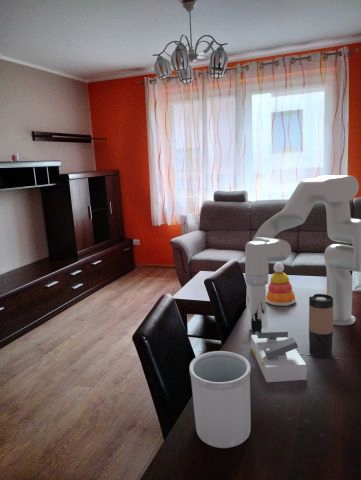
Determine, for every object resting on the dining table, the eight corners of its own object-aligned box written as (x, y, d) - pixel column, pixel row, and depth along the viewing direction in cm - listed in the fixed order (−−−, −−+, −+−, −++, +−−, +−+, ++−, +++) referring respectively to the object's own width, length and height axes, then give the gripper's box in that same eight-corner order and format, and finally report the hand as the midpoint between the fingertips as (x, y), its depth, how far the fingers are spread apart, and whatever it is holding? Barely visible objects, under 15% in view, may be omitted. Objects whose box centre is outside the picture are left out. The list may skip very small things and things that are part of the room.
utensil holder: (213, 460, 85) (210, 390, 81) (182, 422, 98) (178, 361, 94) (264, 435, 91) (263, 370, 88) (229, 403, 104) (227, 345, 101)
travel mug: (334, 359, 124) (335, 301, 120) (310, 358, 126) (310, 301, 122) (330, 348, 131) (331, 293, 128) (307, 347, 133) (307, 293, 129)
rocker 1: (256, 333, 130) (256, 327, 129) (284, 332, 130) (284, 326, 130) (258, 338, 126) (258, 332, 126) (287, 337, 126) (288, 331, 126)
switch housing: (250, 348, 135) (250, 331, 134) (284, 345, 135) (284, 329, 134) (265, 382, 113) (265, 363, 112) (306, 379, 113) (306, 360, 112)
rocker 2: (264, 353, 119) (262, 348, 119) (294, 342, 119) (292, 336, 118) (267, 359, 116) (265, 353, 115) (298, 347, 115) (295, 341, 115)
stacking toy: (299, 299, 179) (299, 259, 176) (291, 309, 168) (291, 267, 164) (270, 295, 187) (270, 257, 183) (260, 305, 175) (260, 264, 172)
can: (247, 332, 148) (247, 303, 145) (251, 324, 154) (250, 297, 152) (265, 334, 145) (265, 304, 143) (268, 326, 151) (268, 298, 149)
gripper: (241, 272, 132) (241, 322, 135) (249, 285, 117) (249, 340, 120) (262, 272, 132) (262, 321, 135) (273, 284, 117) (273, 339, 120)
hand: (256, 330), depth 127 cm, fingers closed
